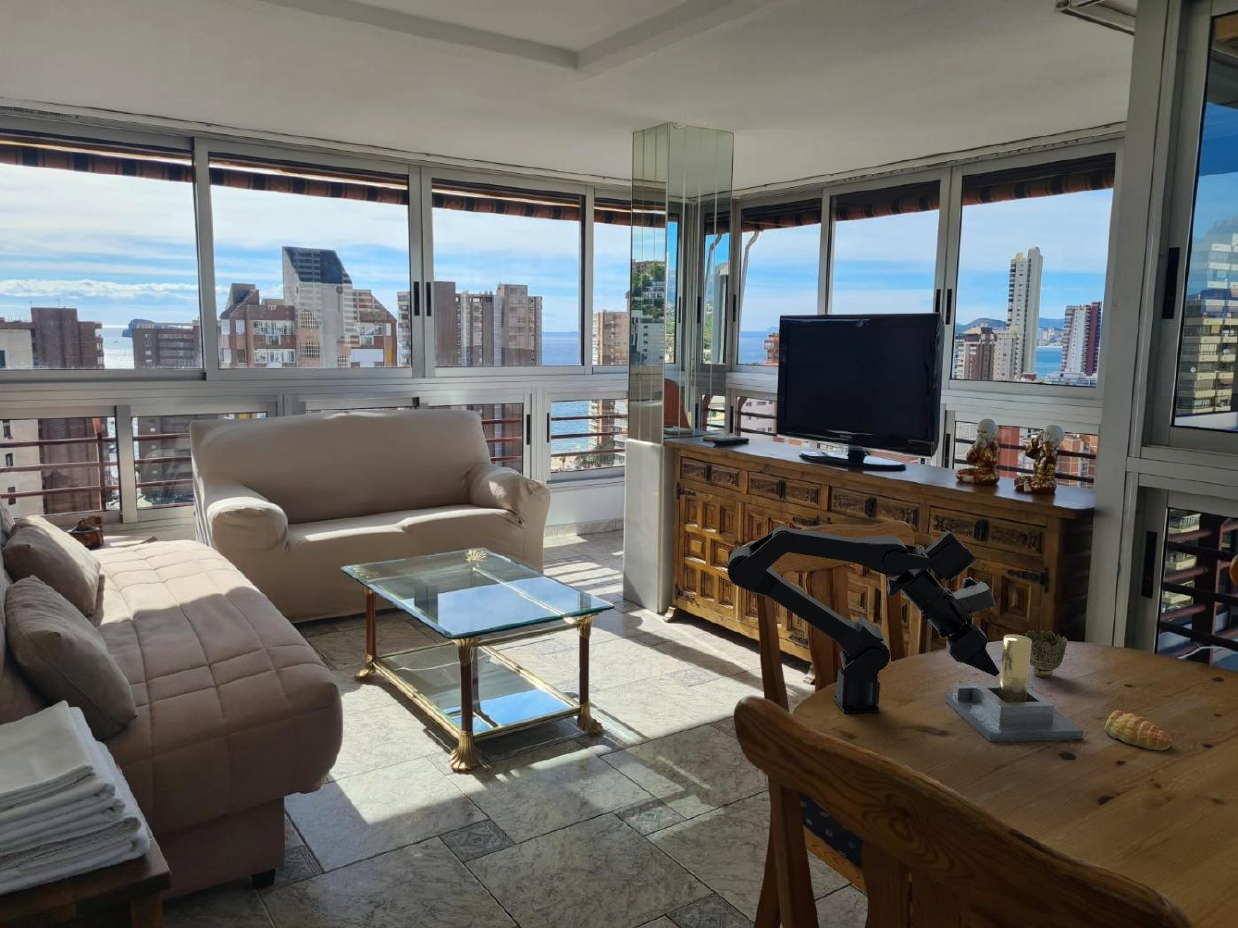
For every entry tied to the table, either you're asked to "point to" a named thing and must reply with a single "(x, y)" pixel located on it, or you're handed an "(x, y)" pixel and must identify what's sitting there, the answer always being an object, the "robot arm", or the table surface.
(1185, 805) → the table surface
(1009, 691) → the sleeve
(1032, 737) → the jig
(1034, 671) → the cup
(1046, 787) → the table surface
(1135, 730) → the pastry
